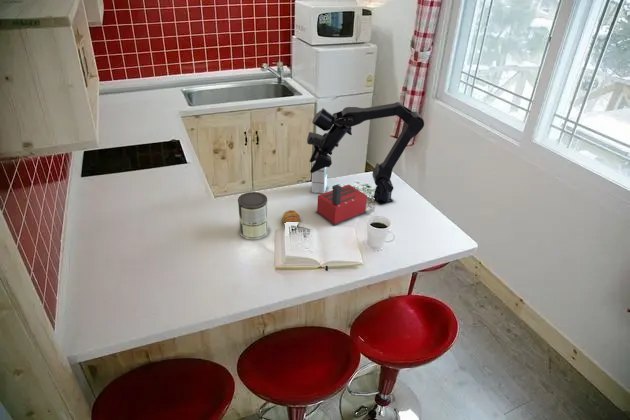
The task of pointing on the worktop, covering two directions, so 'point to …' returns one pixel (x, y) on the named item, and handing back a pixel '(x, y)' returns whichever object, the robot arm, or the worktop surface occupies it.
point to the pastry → (291, 216)
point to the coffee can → (253, 215)
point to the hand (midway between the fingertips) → (310, 167)
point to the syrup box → (319, 180)
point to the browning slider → (336, 194)
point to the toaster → (342, 205)
